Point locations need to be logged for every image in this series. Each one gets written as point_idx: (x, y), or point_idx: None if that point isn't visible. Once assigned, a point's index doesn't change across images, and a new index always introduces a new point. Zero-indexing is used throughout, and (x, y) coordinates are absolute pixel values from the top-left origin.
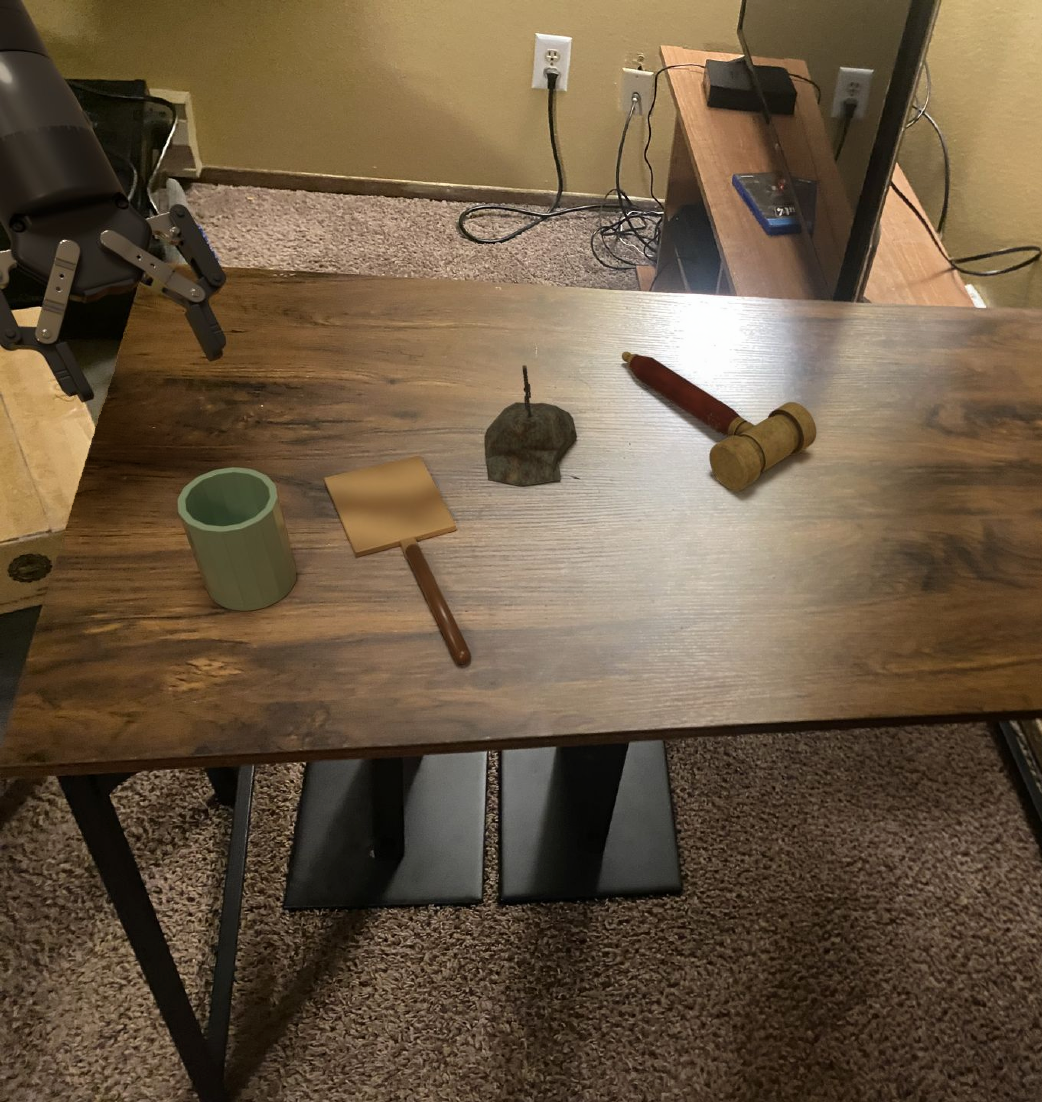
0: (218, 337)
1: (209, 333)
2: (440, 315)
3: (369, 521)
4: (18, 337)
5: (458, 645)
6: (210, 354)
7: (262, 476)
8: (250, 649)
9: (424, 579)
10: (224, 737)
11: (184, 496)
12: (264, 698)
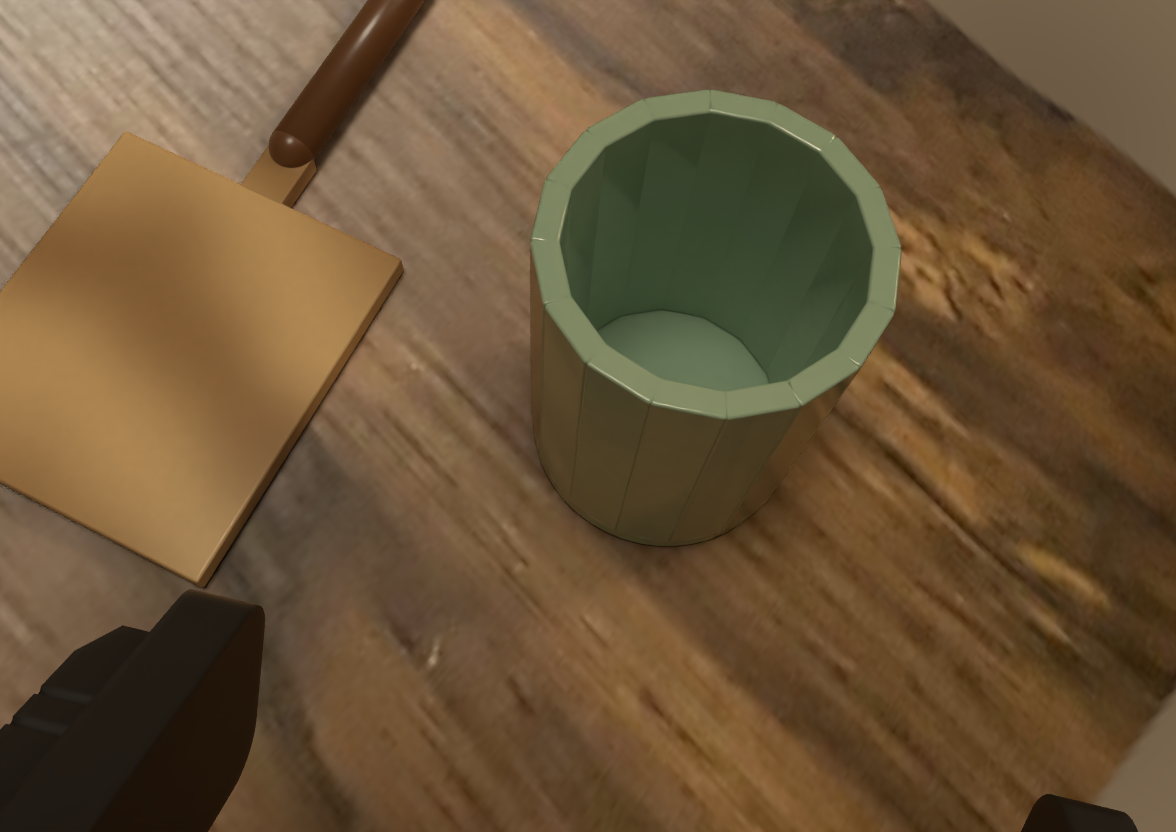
0: (113, 672)
1: (149, 673)
2: None
3: (273, 318)
4: None
5: None
6: (250, 662)
7: (546, 244)
8: None
9: (368, 38)
10: (1009, 99)
11: (829, 363)
12: (884, 112)
